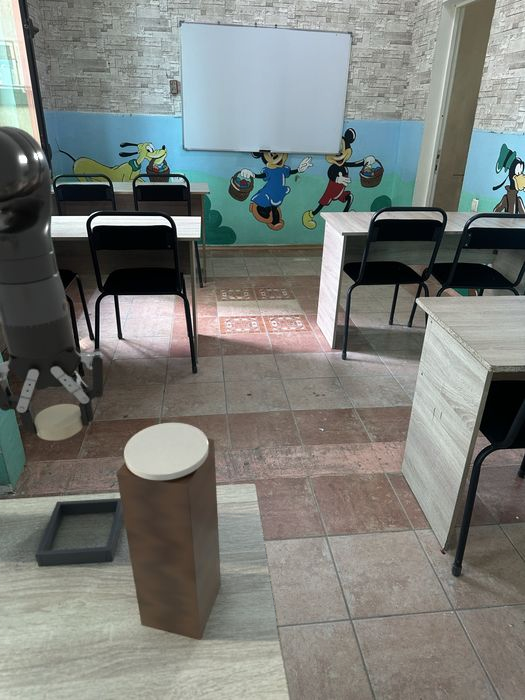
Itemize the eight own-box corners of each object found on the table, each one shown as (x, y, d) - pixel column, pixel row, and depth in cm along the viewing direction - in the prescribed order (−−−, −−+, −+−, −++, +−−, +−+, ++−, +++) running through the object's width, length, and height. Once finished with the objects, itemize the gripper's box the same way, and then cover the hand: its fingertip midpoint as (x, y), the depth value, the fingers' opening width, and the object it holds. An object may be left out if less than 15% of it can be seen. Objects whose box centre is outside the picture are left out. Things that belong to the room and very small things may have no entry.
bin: (40, 572, 69) (35, 555, 67) (61, 518, 78) (56, 501, 77) (113, 567, 70) (110, 550, 68) (125, 514, 79) (123, 497, 78)
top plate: (27, 440, 63) (23, 425, 62) (55, 415, 68) (52, 401, 67) (68, 447, 62) (64, 432, 61) (93, 421, 67) (90, 406, 66)
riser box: (142, 631, 61) (116, 473, 50) (168, 578, 68) (150, 428, 57) (201, 646, 60) (188, 486, 48) (221, 590, 67) (214, 439, 55)
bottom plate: (109, 475, 50) (107, 466, 49) (148, 425, 57) (147, 417, 57) (191, 490, 48) (190, 481, 47) (219, 437, 55) (219, 428, 55)
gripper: (97, 295, 62) (115, 404, 70) (-26, 306, 59) (7, 420, 66) (96, 316, 56) (116, 434, 63) (-42, 330, 52) (-4, 453, 60)
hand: (60, 426), depth 65 cm, fingers closed on top plate, 6 cm apart
